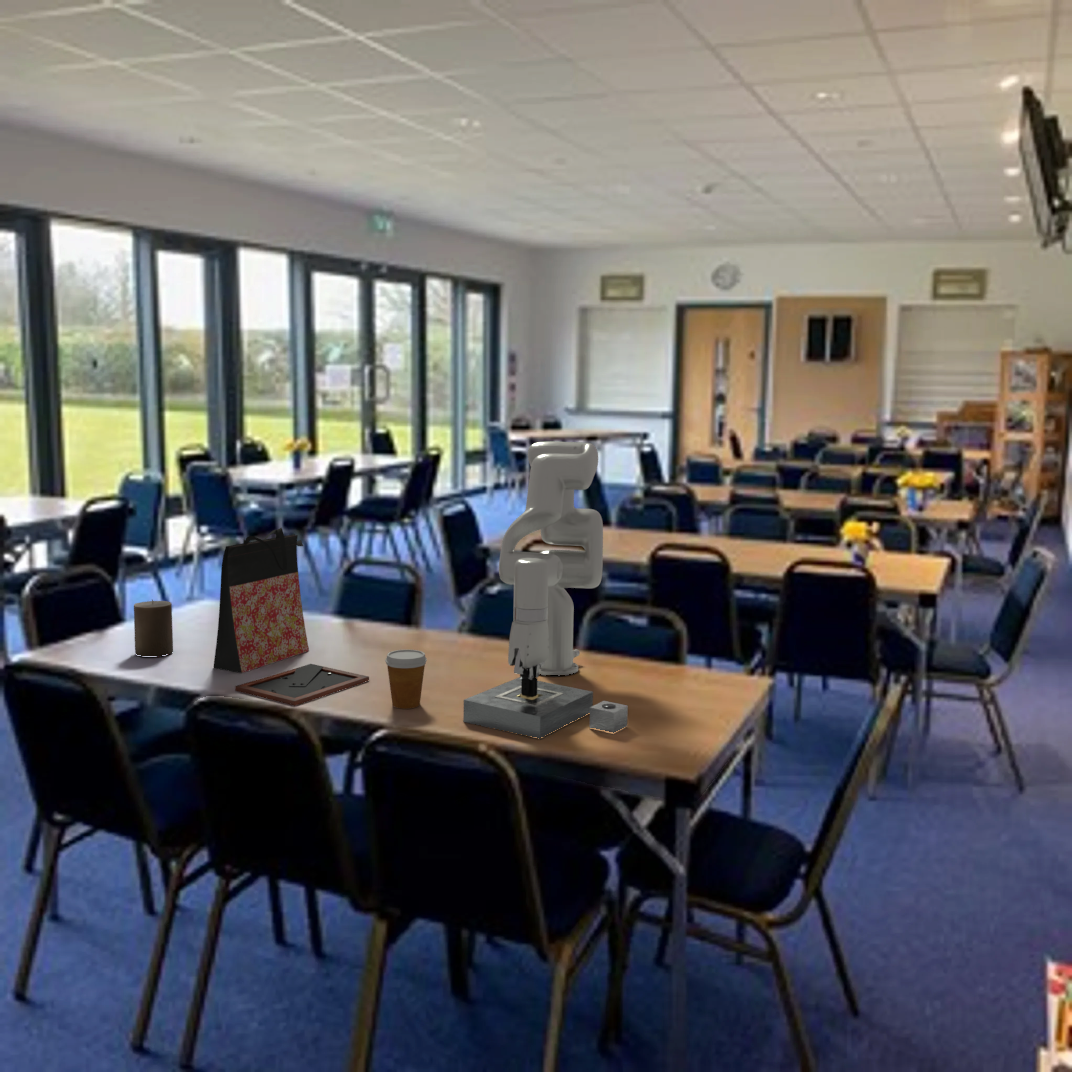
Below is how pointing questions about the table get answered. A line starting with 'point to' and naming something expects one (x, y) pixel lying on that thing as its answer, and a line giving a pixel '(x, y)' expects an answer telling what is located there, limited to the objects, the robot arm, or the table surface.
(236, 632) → the gift bag
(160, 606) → the pillar candle
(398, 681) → the disposable coffee cup
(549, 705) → the block
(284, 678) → the picture frame
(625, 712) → the block
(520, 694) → the brass pin
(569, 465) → the robot arm
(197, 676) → the table surface
